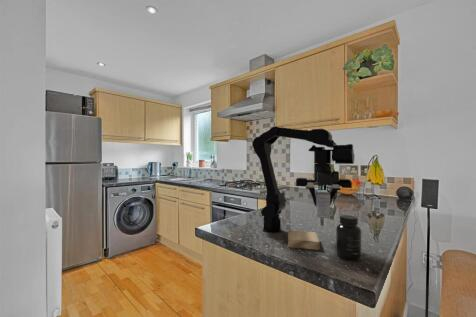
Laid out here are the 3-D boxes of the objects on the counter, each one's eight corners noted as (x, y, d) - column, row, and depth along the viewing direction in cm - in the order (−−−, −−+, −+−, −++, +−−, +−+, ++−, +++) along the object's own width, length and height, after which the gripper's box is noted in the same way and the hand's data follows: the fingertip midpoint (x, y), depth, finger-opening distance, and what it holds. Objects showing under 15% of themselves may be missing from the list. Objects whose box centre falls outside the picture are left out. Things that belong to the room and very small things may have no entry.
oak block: (287, 248, 74) (288, 239, 74) (288, 238, 84) (288, 230, 84) (319, 251, 72) (319, 242, 72) (316, 240, 82) (316, 232, 82)
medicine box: (330, 218, 77) (330, 194, 77) (316, 217, 78) (317, 193, 78) (326, 212, 85) (327, 190, 84) (314, 211, 86) (314, 189, 85)
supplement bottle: (331, 252, 70) (332, 214, 70) (352, 251, 71) (352, 213, 71) (344, 262, 63) (344, 220, 63) (366, 261, 64) (366, 219, 64)
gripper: (296, 163, 76) (296, 209, 76) (356, 164, 71) (356, 212, 71) (295, 163, 87) (295, 203, 86) (347, 163, 82) (347, 205, 82)
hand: (322, 206), depth 81 cm, fingers closed on medicine box, 4 cm apart
